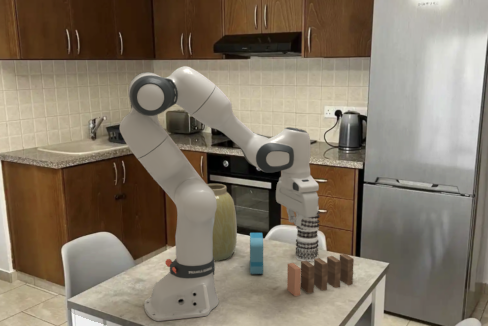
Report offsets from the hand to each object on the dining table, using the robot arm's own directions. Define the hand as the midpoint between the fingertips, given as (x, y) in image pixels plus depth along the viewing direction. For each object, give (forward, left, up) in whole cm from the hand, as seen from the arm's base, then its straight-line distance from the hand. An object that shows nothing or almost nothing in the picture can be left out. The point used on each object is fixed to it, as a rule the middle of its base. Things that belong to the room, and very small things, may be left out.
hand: (294, 223), depth 154 cm
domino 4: (+15, 0, -23) cm, 28 cm away
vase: (-12, +41, -23) cm, 49 cm away
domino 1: (0, 0, -23) cm, 23 cm away
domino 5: (+20, 0, -23) cm, 31 cm away
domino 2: (+5, 0, -23) cm, 24 cm away
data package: (-3, +22, -23) cm, 32 cm away
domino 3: (+10, 0, -23) cm, 25 cm away
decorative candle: (+19, +24, -23) cm, 38 cm away
